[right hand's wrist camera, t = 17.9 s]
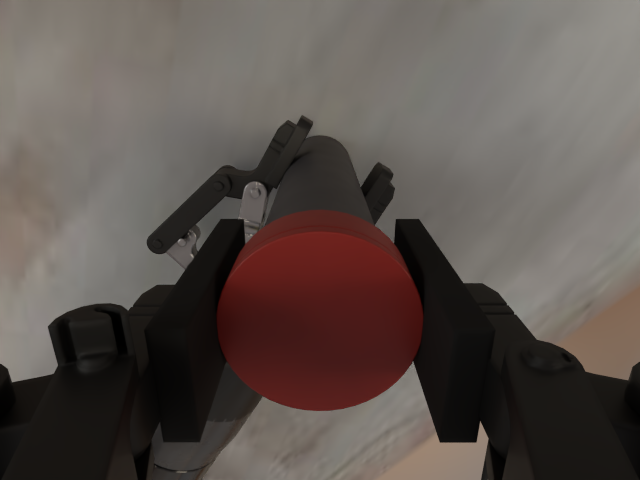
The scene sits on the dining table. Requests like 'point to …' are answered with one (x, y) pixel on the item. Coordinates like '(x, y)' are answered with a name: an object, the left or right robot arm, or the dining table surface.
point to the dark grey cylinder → (320, 182)
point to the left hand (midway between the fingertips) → (345, 145)
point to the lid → (319, 312)
